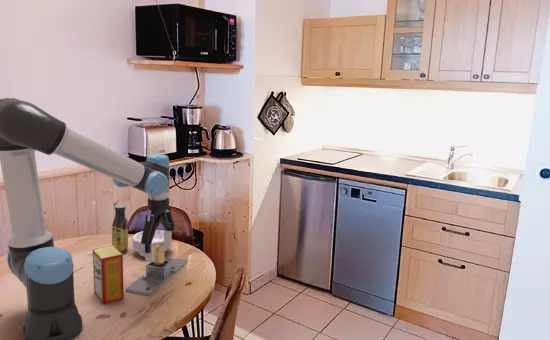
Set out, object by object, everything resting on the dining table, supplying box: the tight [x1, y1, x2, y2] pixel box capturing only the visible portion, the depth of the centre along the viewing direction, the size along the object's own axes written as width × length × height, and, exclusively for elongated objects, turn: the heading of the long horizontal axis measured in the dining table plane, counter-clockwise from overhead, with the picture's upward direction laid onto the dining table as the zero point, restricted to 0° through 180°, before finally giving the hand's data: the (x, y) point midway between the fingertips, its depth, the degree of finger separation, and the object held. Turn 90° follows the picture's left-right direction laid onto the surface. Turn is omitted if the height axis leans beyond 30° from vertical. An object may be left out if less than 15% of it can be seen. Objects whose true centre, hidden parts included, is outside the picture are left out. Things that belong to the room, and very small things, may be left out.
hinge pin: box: [153, 243, 166, 267], centre depth 161 cm, size 4×4×12 cm
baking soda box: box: [92, 244, 125, 306], centre depth 144 cm, size 10×6×16 cm
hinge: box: [125, 256, 189, 297], centre depth 161 cm, size 29×9×5 cm, turn 166°
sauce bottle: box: [111, 204, 129, 255], centre depth 180 cm, size 6×6×20 cm
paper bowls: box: [132, 229, 170, 258], centre depth 181 cm, size 15×15×8 cm
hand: (158, 253), depth 160 cm, fingers open, 13 cm apart
